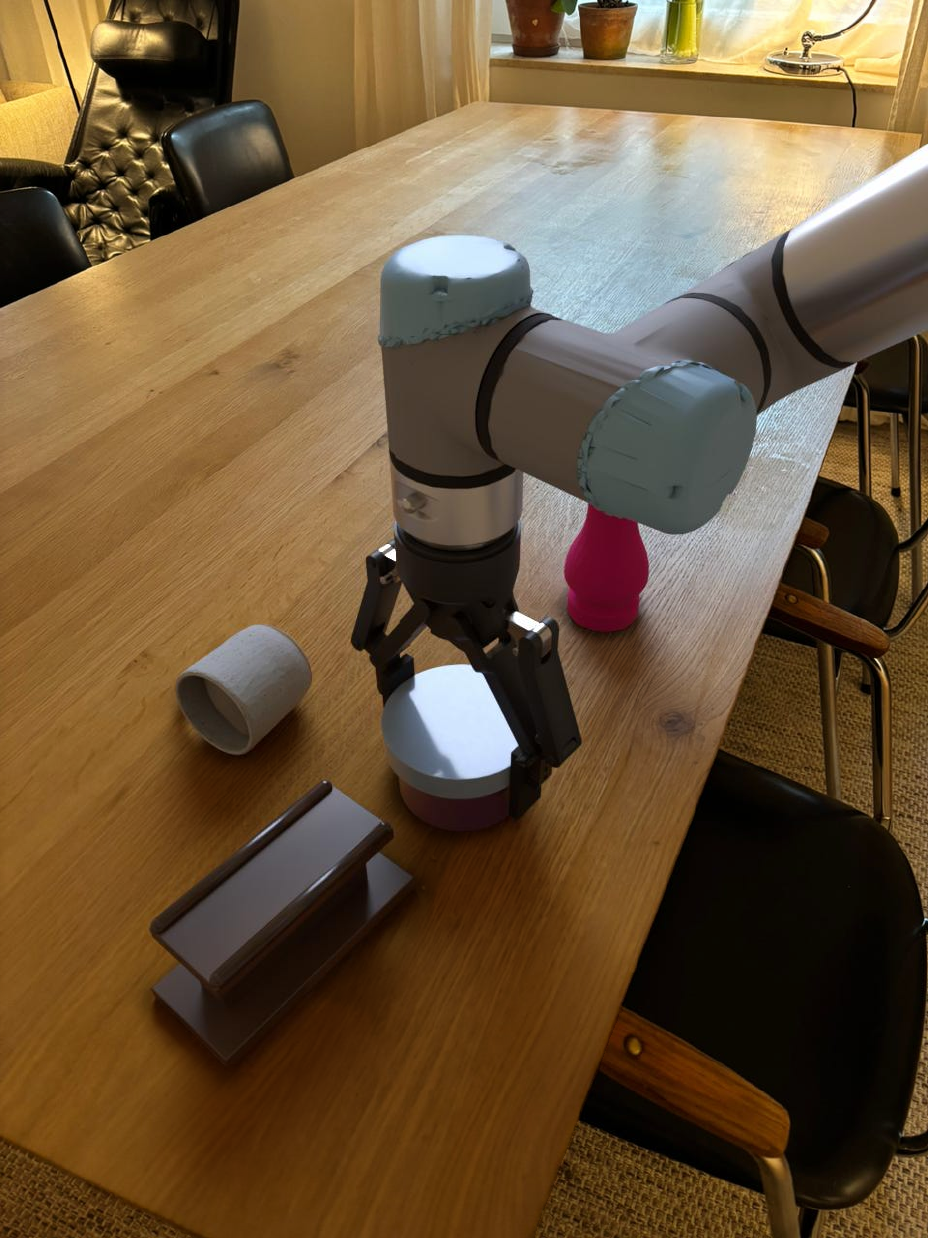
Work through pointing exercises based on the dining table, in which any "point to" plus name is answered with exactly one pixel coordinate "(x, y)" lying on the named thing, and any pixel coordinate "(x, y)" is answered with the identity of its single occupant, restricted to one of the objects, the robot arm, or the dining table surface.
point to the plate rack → (276, 919)
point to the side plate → (448, 734)
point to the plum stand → (456, 809)
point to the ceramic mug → (244, 687)
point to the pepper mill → (606, 572)
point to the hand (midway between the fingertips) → (460, 765)
